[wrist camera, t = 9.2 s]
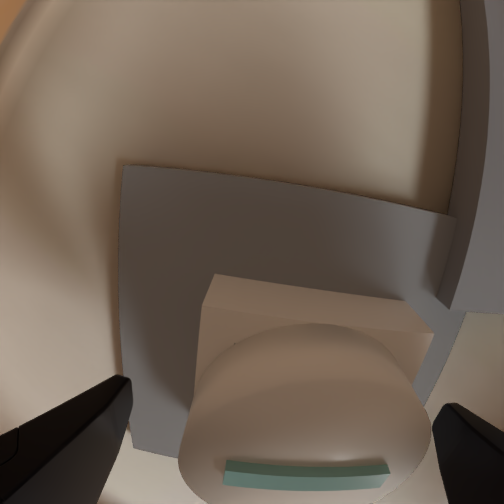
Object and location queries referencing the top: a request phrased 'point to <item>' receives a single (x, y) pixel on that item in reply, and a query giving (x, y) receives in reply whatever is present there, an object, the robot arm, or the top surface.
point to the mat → (256, 271)
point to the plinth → (479, 168)
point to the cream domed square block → (303, 396)
